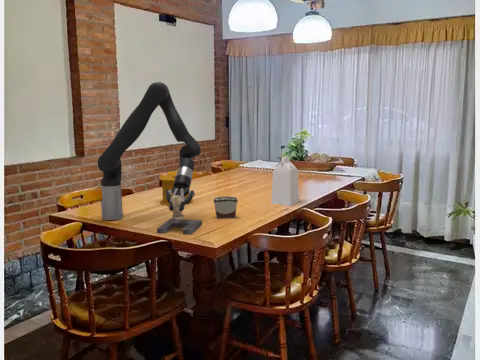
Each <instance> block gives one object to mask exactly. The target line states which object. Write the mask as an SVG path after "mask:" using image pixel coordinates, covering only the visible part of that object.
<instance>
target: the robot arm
mask: <svg viewBox="0 0 480 360" xmlns="http://www.w3.org/2000/svg"><path fill="white" fill-rule="evenodd" d="M158 107H160V109H161V110H162V113H163V114H164V117H165V119H166V121H167V124H168V126H169V129H170V131H171V133H172V135H173V136H174V139H175V141H176V142H179V143H181V142H182V143H185V145H183V146H182V147H181V148H180V149H179V165H178V169H177V171H176V174H175V175H176V177H175V181H174V186H173V188H172V190H169V191H168V190H166V199H167V201H168V203H170V204H169V206H168V210H169V211H170V212H173V203H172V198H171V199H170V195H171V193H173V195H172V196H175V195H180V196H181V198H182V202H181V204H180V208H179V210H180V211H182V212H183V211H184V210H185V206H186V205H185V204H186V203H188V204H187V205H189V203H190V201H191V200H192V201H193V198H194V197H195V195H196V194H195V191H194V189H193V190H190V187H191V185H192V184H191V183H192V180H193V176H194V175H193V173H194V169H195V161H194V160H193V158H196V157H198V156H199V155H200V154H201V153H202V149H201V148H202V147H201V145H200V144H199V142H198V141H197V140H196V139H195V138H194V137H193V136H192V134H190V132H189V130H188V128H187V127H186V125H185V123H184V121H183V119H182V118H181V116H180V114H179V111H177V108H176V106H175V104H174V101H173V98H172V97H171V92H170V89H169V87H168V86H167V85H166V84H165V83H163V82H161V81H159V82H156V81H154V82H153V83H151V84H150V85H149V86H148V88H147V90H146V91H145V93H144V95H143V97H142V99H141V101H140V102H139V103H138V105H137V106H136V107H135V108H134V109H133V110H132V112H131V113H130V114H129V116H128V117H127V118H126V120H125V121H124V123H123V124H122V126H121V127H120V129H119V130H118V132H117V134H116V135H115V137H114V138H113V140H112V141H111V143H110V145H109V146H108V147H107V148H106V149H105V150H104V151H103V153H102V154H100V156H98V159H97V167H98V170H100V171H101V172H103V173H102V178H101V181H100V183H101V185H100V186H101V195H102V196H101V197H102V200H100V206H101V207H100V208H101V210H100V211H101V220H102V219H106V220H116V221H119V220H118V219H120V220H123V219H124V212H123V211H124V210H123V197H122V196H123V195H122V194H123V193H122V185H121V183H122V182H121V181H122V174H123V173H122V160H121V157H122V156H123V155H124V153H125V152H126V151H127V150H128V149H129V148H130V147H131V146H132V145H133V144H134V143H135V142H136V141H137V140H139V137H140V136H141V135H142V134H143V131H145V129H146V127H147V125H148V123H149V120H150V119H151V117H152V114H153V113H154V111H155V110H156V109H157V108H158ZM188 193H189V195H188V197H187V198H186V197H185V196H186V195H187V194H188ZM190 204H191V203H190ZM106 220H105V221H106Z"/></svg>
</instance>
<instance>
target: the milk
mask: <svg viewBox="0 0 480 360" xmlns="http://www.w3.org/2000/svg"><path fill="white" fill-rule="evenodd" d="M271 184H272V186H271V202H270V203H271V205H276V204H279V205H278V206H285V205H287V207H291V206H294V205H295V204H297V203H299V202H300V195H299V194H300V192H299V190H300V189H299V170H298V168H297V167H296V166H295V165H294V164H293V163H292V162H291V160H290V157H289V156H287V155H286V156H283V157H281V163H279V165H278V166H276V167H275V169H274V170H273V171H272V183H271Z"/></svg>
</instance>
